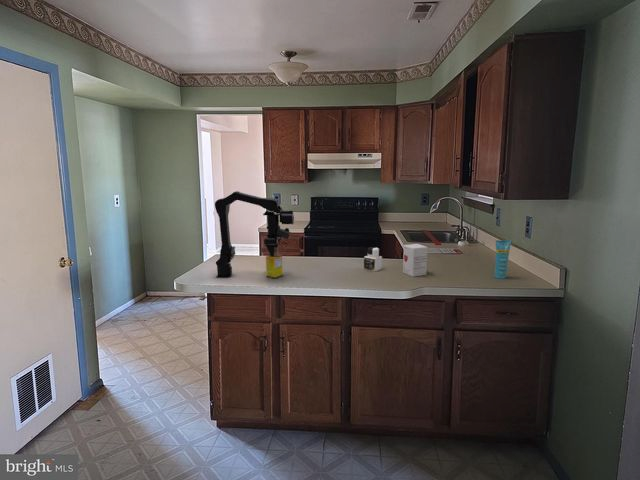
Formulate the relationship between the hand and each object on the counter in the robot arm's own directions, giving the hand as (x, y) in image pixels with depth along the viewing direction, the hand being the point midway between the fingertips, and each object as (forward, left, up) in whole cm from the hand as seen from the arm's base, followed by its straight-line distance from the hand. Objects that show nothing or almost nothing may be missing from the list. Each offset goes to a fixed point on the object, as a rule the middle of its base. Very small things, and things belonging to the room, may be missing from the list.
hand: (273, 254), depth 207 cm
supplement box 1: (0, 0, -12) cm, 12 cm away
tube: (+114, +4, -12) cm, 115 cm away
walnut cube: (0, 0, -1) cm, 1 cm away
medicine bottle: (+51, +17, -12) cm, 55 cm away
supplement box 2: (+72, +9, -12) cm, 74 cm away
